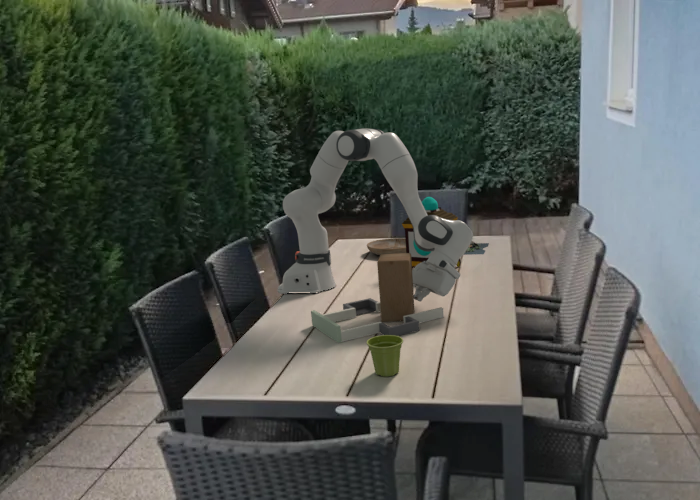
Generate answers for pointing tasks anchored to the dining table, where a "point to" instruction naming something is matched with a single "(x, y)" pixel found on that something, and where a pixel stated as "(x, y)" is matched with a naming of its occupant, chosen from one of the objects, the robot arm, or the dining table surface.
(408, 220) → the decorative lantern
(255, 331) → the dining table surface
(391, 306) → the wooden block
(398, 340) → the plant pot
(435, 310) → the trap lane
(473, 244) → the plated dish
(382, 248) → the ceramic bowl
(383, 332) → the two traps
